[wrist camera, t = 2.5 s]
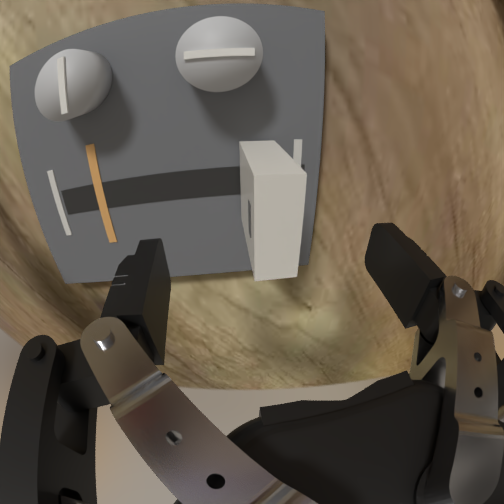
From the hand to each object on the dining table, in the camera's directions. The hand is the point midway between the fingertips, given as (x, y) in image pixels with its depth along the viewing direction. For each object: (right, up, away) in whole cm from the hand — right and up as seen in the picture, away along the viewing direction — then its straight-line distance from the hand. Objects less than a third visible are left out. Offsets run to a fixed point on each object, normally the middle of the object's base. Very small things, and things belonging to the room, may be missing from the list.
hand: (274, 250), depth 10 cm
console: (-7, +6, +6) cm, 11 cm away
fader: (0, +4, +6) cm, 7 cm away
